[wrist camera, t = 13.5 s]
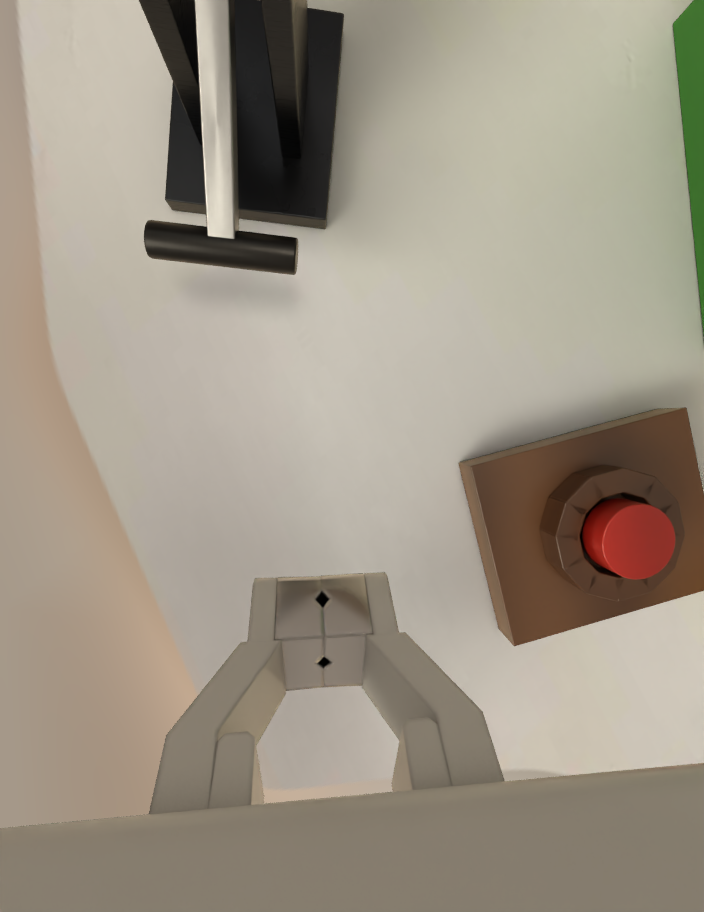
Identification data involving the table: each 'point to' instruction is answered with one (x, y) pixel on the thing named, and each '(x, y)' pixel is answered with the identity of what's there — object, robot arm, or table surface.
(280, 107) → the bracket
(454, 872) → the robot arm
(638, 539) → the button
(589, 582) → the button block
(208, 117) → the lever
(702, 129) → the hardback book
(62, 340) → the table surface
